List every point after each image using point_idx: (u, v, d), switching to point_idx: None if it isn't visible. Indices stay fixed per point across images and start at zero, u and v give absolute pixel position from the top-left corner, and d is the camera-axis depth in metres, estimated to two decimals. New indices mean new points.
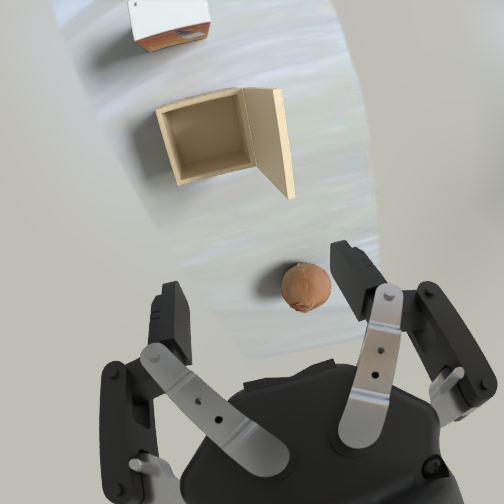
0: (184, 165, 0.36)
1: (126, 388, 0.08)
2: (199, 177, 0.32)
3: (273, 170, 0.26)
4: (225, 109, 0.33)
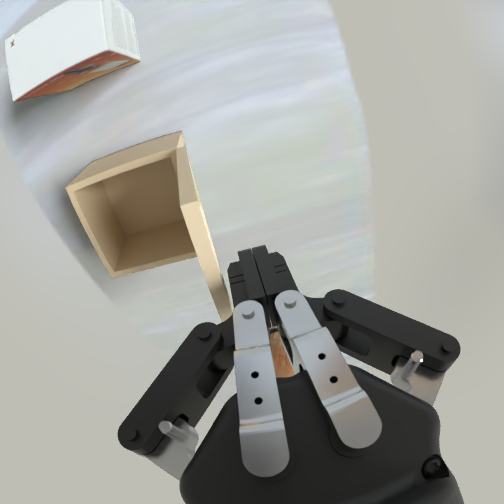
0: (126, 237, 0.28)
1: (208, 356, 0.09)
2: (135, 269, 0.24)
3: None
4: (170, 164, 0.25)
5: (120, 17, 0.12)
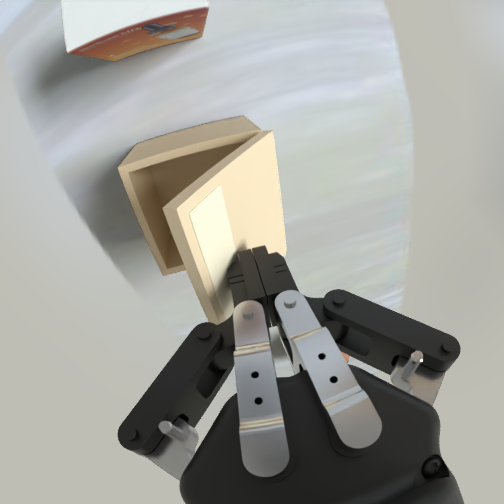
0: None
1: (208, 356, 0.09)
2: None
3: None
4: (230, 150, 0.23)
5: None
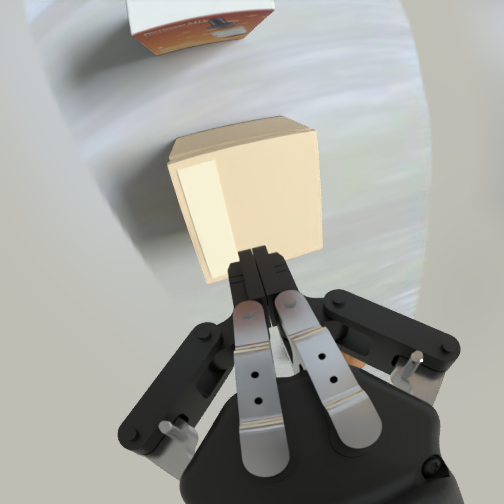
0: None
1: (208, 356, 0.09)
2: None
3: None
4: None
5: None
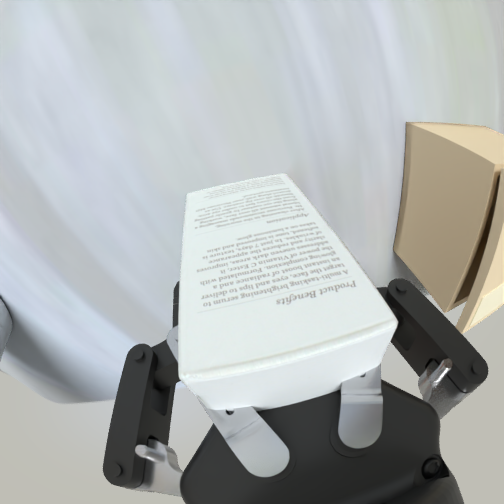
0: None
1: (149, 374, 0.09)
2: None
3: None
4: None
5: (234, 249, 0.09)
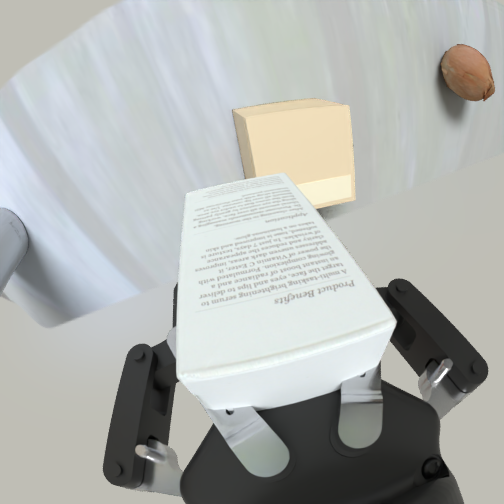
0: None
1: (149, 374, 0.09)
2: None
3: None
4: None
5: (232, 248, 0.09)
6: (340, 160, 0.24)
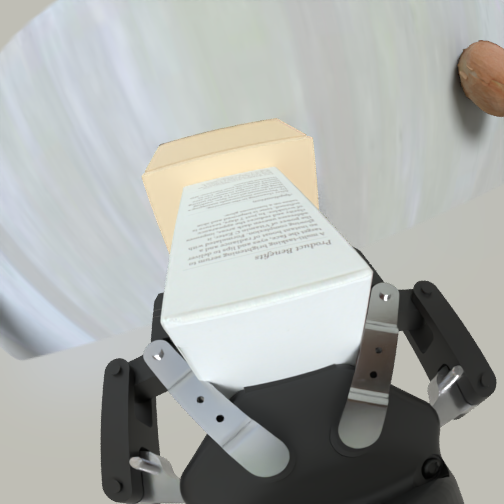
0: None
1: (129, 386, 0.08)
2: None
3: None
4: None
5: (221, 222, 0.10)
6: None
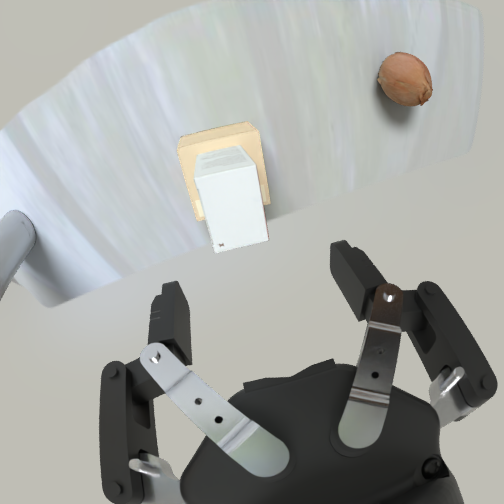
0: None
1: (126, 388, 0.08)
2: None
3: None
4: None
5: (213, 161, 0.25)
6: None
